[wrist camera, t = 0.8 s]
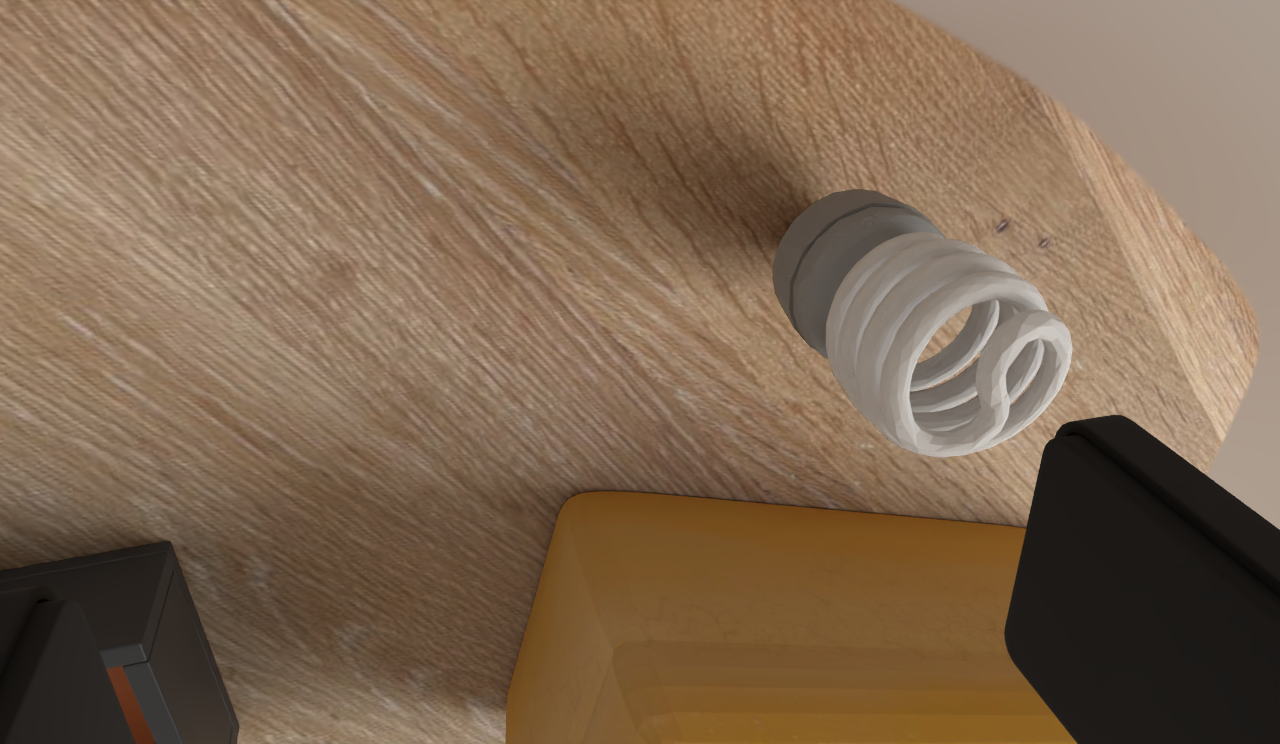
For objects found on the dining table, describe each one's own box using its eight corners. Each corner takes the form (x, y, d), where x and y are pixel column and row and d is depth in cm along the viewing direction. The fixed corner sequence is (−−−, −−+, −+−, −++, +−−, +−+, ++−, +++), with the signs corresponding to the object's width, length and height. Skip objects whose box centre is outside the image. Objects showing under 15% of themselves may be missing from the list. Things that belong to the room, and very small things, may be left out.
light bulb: (804, 125, 32) (1007, 257, 22) (915, 207, 34) (1145, 360, 24) (706, 262, 33) (853, 446, 23) (820, 330, 36) (997, 524, 26)
